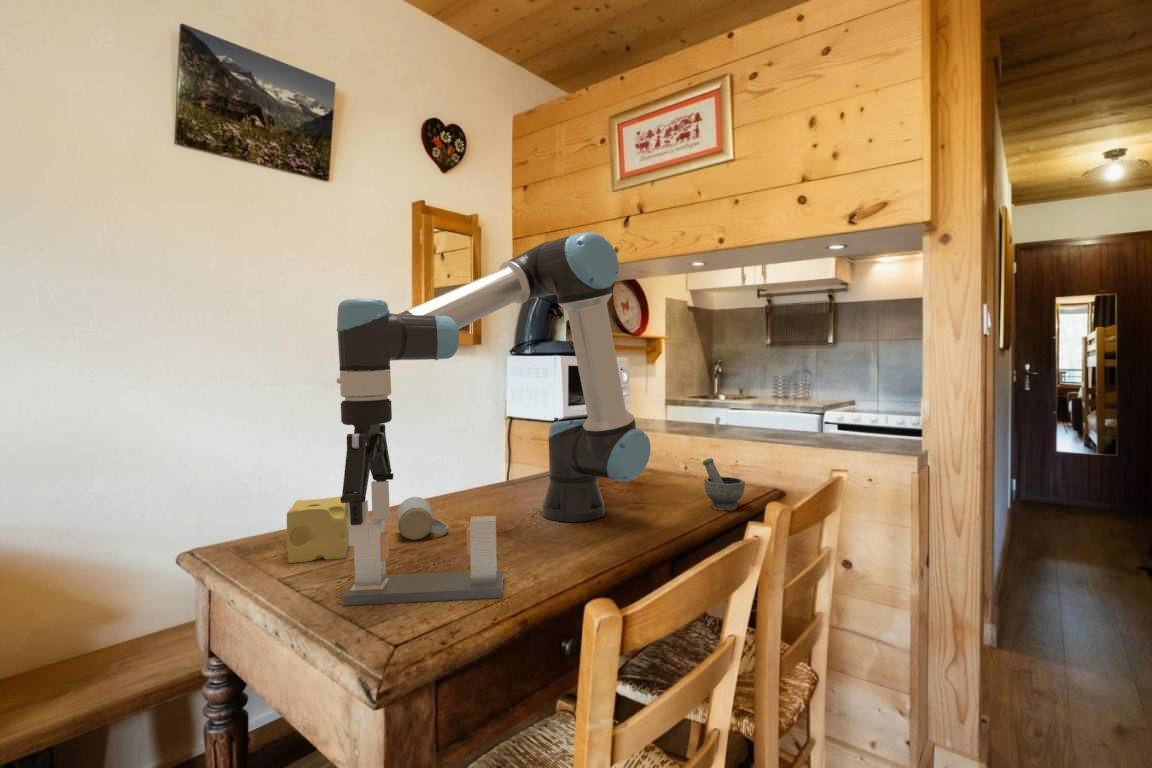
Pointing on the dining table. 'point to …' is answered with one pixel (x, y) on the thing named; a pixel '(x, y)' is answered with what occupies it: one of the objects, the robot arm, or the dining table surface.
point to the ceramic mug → (418, 519)
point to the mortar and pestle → (722, 488)
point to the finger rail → (443, 576)
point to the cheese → (317, 530)
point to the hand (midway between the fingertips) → (371, 531)
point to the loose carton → (372, 557)
